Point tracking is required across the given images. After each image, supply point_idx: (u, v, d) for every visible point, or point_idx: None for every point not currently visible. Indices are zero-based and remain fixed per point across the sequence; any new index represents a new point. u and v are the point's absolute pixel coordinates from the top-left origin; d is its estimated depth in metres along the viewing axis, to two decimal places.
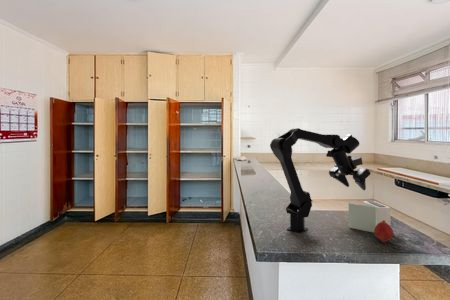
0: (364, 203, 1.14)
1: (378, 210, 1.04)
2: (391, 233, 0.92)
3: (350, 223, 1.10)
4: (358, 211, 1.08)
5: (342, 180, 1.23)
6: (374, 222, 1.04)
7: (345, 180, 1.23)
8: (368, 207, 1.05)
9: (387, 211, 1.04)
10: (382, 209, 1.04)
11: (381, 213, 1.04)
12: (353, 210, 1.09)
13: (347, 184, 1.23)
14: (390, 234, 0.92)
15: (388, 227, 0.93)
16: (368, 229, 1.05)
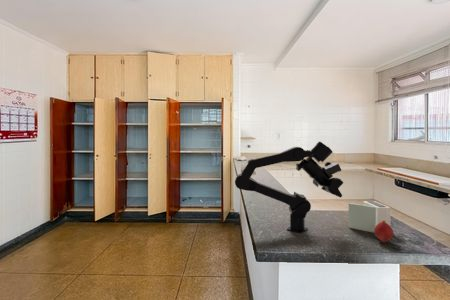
0: (364, 203, 1.14)
1: (378, 210, 1.04)
2: (391, 233, 0.92)
3: (350, 223, 1.10)
4: (358, 211, 1.08)
5: None
6: (374, 222, 1.04)
7: None
8: (368, 207, 1.05)
9: (387, 211, 1.04)
10: (382, 209, 1.04)
11: (381, 213, 1.04)
12: (353, 210, 1.09)
13: None
14: (390, 234, 0.92)
15: (388, 227, 0.93)
16: (368, 229, 1.05)
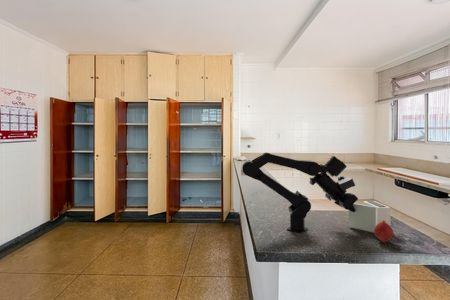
0: (364, 203, 1.14)
1: (378, 210, 1.04)
2: (391, 233, 0.92)
3: (351, 223, 1.11)
4: (358, 211, 1.08)
5: None
6: (374, 222, 1.04)
7: None
8: (368, 207, 1.05)
9: (387, 211, 1.04)
10: (382, 209, 1.04)
11: (381, 213, 1.04)
12: None
13: None
14: (390, 234, 0.92)
15: (388, 227, 0.93)
16: (368, 229, 1.06)
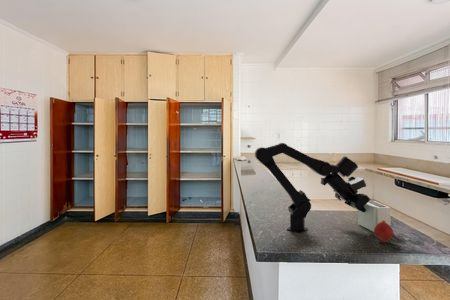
0: None
1: (378, 210, 1.04)
2: (391, 233, 0.92)
3: (359, 220, 1.14)
4: None
5: None
6: (373, 221, 1.05)
7: None
8: (369, 206, 1.07)
9: (387, 211, 1.04)
10: (382, 209, 1.04)
11: (381, 213, 1.04)
12: None
13: None
14: (390, 234, 0.92)
15: (388, 227, 0.93)
16: (369, 228, 1.07)
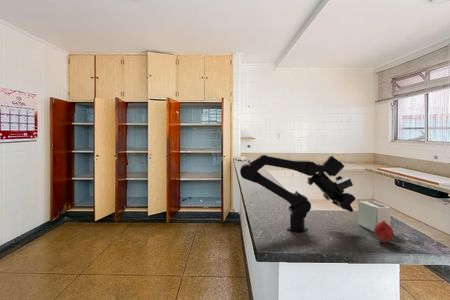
0: None
1: (378, 210, 1.04)
2: (391, 233, 0.92)
3: (359, 220, 1.14)
4: (363, 209, 1.10)
5: None
6: (373, 221, 1.05)
7: None
8: (369, 206, 1.07)
9: (387, 211, 1.04)
10: (382, 209, 1.04)
11: (381, 213, 1.04)
12: (360, 208, 1.13)
13: None
14: (390, 234, 0.92)
15: (388, 227, 0.93)
16: (369, 228, 1.07)
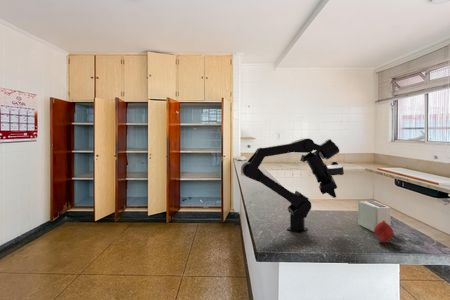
0: None
1: (378, 210, 1.04)
2: (391, 233, 0.92)
3: (359, 220, 1.14)
4: (363, 209, 1.10)
5: None
6: (373, 221, 1.05)
7: None
8: (369, 206, 1.07)
9: (387, 211, 1.04)
10: (382, 209, 1.04)
11: (381, 213, 1.04)
12: (360, 208, 1.13)
13: None
14: (390, 234, 0.92)
15: (388, 227, 0.93)
16: (369, 228, 1.07)
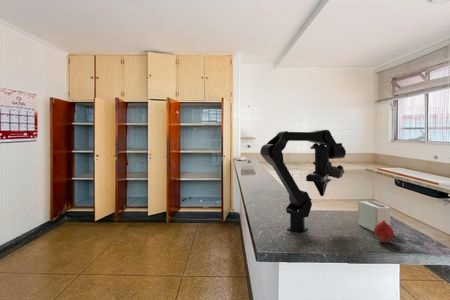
0: None
1: (378, 210, 1.04)
2: (391, 233, 0.92)
3: (359, 220, 1.14)
4: (363, 209, 1.10)
5: None
6: (373, 221, 1.05)
7: None
8: (369, 206, 1.07)
9: (387, 211, 1.04)
10: (382, 209, 1.04)
11: (381, 213, 1.04)
12: (360, 208, 1.13)
13: None
14: (390, 234, 0.92)
15: (388, 227, 0.93)
16: (369, 228, 1.07)
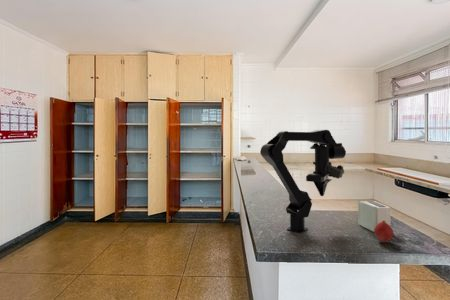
0: None
1: (378, 210, 1.04)
2: (391, 233, 0.92)
3: (359, 220, 1.14)
4: (363, 209, 1.10)
5: None
6: (373, 221, 1.05)
7: None
8: (369, 206, 1.07)
9: (387, 211, 1.04)
10: (382, 209, 1.04)
11: (381, 213, 1.04)
12: (360, 208, 1.13)
13: None
14: (390, 234, 0.92)
15: (388, 227, 0.93)
16: (369, 228, 1.07)
